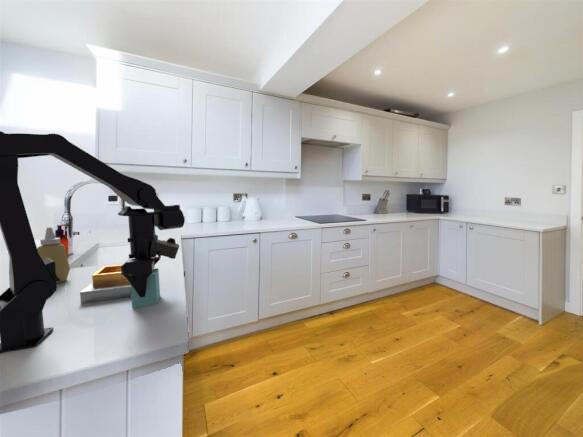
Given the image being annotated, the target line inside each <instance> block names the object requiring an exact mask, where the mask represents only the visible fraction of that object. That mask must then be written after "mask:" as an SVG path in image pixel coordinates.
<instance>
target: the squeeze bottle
mask: <svg viewBox="0 0 583 437" xmlns="http://www.w3.org/2000/svg"><path fill="white" fill-rule="evenodd" d="M61 242H62V241H61V238H60V237H56V234H55V233H54V229H53V227H49V226H48V227H46V230H45V235H44V238H42V239H40V245H39V246H38V247H37V250H38V253H39V255H40V257H41V258H42V259H45V258H50V259H51V260H52V261H54V262H55V269H56V275H57V277H58V278H59V279H60V281H56V283H57V284H60V283H63V282H65V281H67V280H68V276H69V273H70V271H71V268H70V263H69V260H68V255H67V250H66V245H64V244H62V243H61Z"/></svg>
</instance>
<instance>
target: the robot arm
mask: <svg viewBox="0 0 583 437" xmlns="http://www.w3.org/2000/svg"><path fill="white" fill-rule="evenodd" d="M45 156H46V157H48V156H51V157H54V158H55V159H57V160H59V161H60V162H63V163H65V164H67V165H68V166H69V167H71V168H73V169H74V170H77V171H79V172H81V173H83V174H84V175H87V176H88V177H90V178H91V179H93V180H96V181H97V182H99V183H101V184H103V185H104V186H106V187H108V188H109V189H110V190H111V191H112V192H114V194H116V196H118V197H119V198H120V199H121V200H123V201H124V202H125V203H127V204H128V205H131V206H133V207H141V208H132V207H131V206H128V205H125V206H124V207H123V209H121V211H119V212H118V213H117V214H118V216H120V217H121V216H122V217H128V229H129V234H128V235H129V237H127V243H129V245H130V246H129V247H130V248H129V249H130V253H129V254H128V259H127V260H126V261H125V262H124V263H123V264H121V265H122V266H121V275H124V277H126V278H127V280H128V281H129V282H130V283H131V285H132V286H133V288H134V289H135V291H136V292H137V294H138V295H139V296H140V297H145V295H146V288H147V280H148V276H149V275H150V274H152V273H153V271H154V269H155V267H156V264H157V263H158V262H159V261H160V260H161V257H162V256H163V257H166V258H168V259H171V260H173V259H176V258H177V254H178V250H179V249H180V244H178V243H177V242H176V238H173V237H169V238H168V239H167V240H164V239H163V240H161V239H159V237H158V234H157V233H156V228H158V230H159V231H164V230H165V231H166V230H174V229H182V228H183V227H184V225H185V221H186V219H185V218H186V216H184V213H183V210H181V205H180V204H170V205H165V204H164V202H162V200H161V199H160V198H159V197H158V195H157V192H156V191H157V190H156V188H154V186H152V185H151V184H149V183H147V182H145V181H142V180H140V179H137V178H134V177H131V176H128V175H127V174H123V173H122V172H119V171H117V170H116V169H114V168H113V167H111V166H110V165H108V164H106V163H105V162H103V161H102V160H100V159H98V158H97V157H95V156H93V155H92V154H90V153H88V152H87V151H86V150H83V149H82V148H80V147H79V146H77V145H75V144H74V143H72V142H70V141H69V140H68V139H67V138H65V137H64V136H62V135H61V134H58V133H54V132H53V133H47V134H46V133H45V134H43V133H42V134H41V133H39V134H38V133H5V132H3V131H0V232H1V235H2V238H3V241H4V244H5V247H6V250H7V253H8V257H9V258H8V259H9V262H8V263H9V264H8V275H9V276H8V277H9V278H8V279H9V280H8V281H9V287H8V288H7V289H5V291H3V292H2V293H1V294H0V353H3V352H2V351H4V352H8V350H10V351H14V350H15V351H16V350H22V349H26V348H27V349H28V348H34V347H37V346H38V345H39V344H40V343H42V342H43V340H44V339H46V337H48V335H49V334H51V333H52V332H53V331H54V326H51V327H45V323H44V315H43V311H44V310H43V309H44V308H45V305H46V302H47V300H49V299H50V298H51V297H52V296H53V295H54V294H55V293H56V292H57V289H58V283H56V281H60V279H59V278H58V277H57V275H56V269H55V262H54V261H52V260H51V259H50V258H45V259H42V258H41V257H40V255H39V253H38V250H37V248H38V247H37V244H36V241H35V237H34V235H33V234H34V233H33V230H32V228H31V224H30V219H29V217H28V214H27V211H26V206H25V204H24V200H23V197H22V194H21V190H20V186H19V184H18V182H19V181H18V179H19V177H18V176H19V159H25V158H34V157H35V158H36V157H45ZM147 210H153V211H147Z"/></svg>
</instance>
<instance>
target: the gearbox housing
mask: <svg viewBox="0 0 583 437" xmlns="http://www.w3.org/2000/svg"><path fill="white" fill-rule="evenodd" d="M122 265H123V264H118V265H117V264H116V265H104V266H102V267H101V268H99V270H97V271H96V272H95V273H93V274H92V275H91V278H92V282H90V283H89V284H88V285H86V286H85V288H84V289H82V290H81V291H79V295H80V304H86V303H87V304H88V303H94V302H101V301H103V302H104V301H109V300H116V299H118V300H119V299H125V298H132V297H131V283H130V282H129V281H128V280H127V278H126V277H124V275H121V266H122Z"/></svg>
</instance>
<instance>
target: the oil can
mask: <svg viewBox="0 0 583 437" xmlns="http://www.w3.org/2000/svg"><path fill="white" fill-rule="evenodd" d="M159 272H160V270H159V268H154V271H153V273H152V274H150V275H149V276H148V280H147V288H146V295H145V297H140V296H139V295H138V294H137V292H136V291H135V289H134V288H133V286H132V285H131V297H130V298H131V308H140V307H146V306H147V307H148V306H153V305H154V306H155V305H158V304H159V299H160V298H161V292H160V291H161V287H160V273H159Z"/></svg>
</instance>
